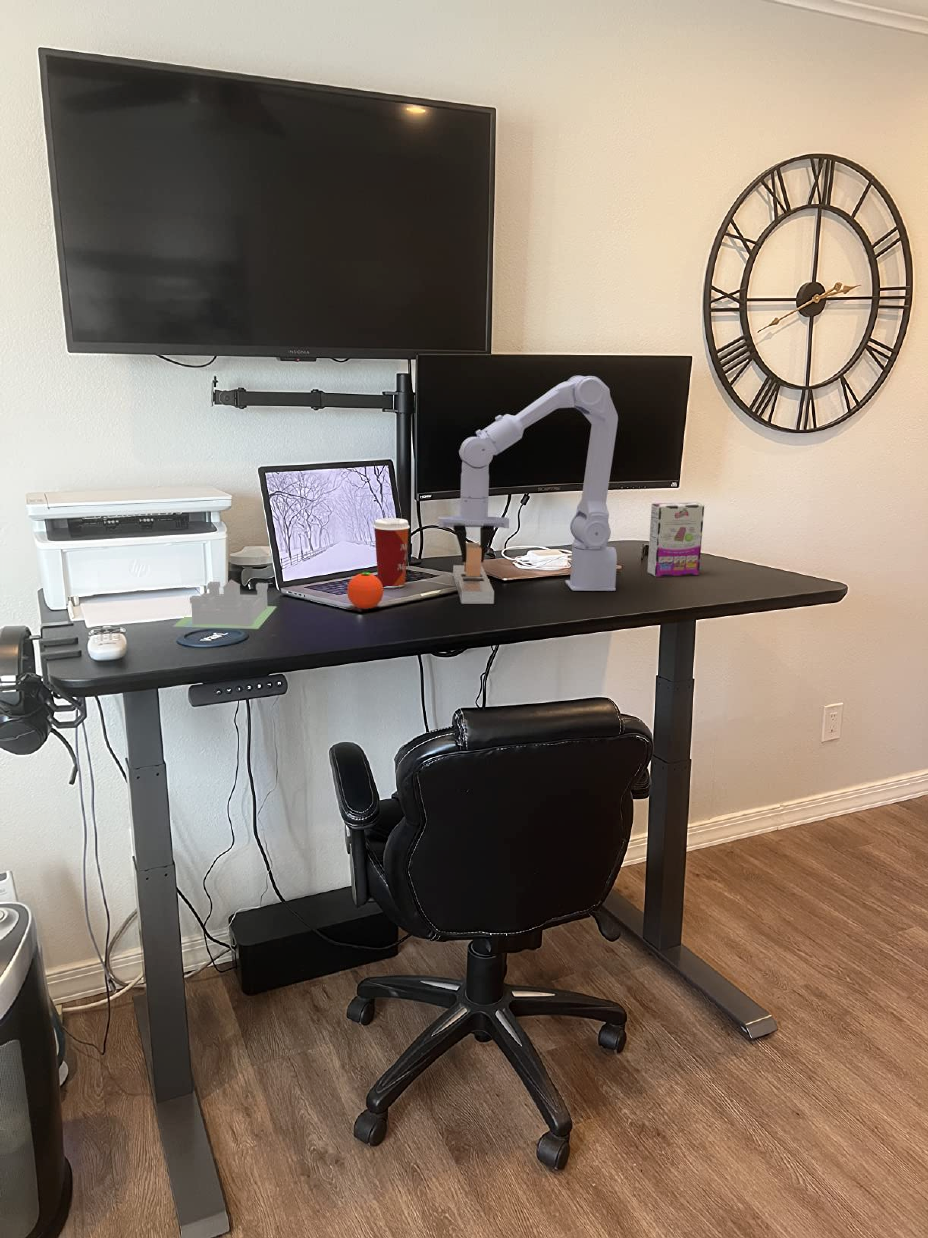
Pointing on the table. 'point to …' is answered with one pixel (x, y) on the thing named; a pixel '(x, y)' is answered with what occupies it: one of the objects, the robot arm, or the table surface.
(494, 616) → the table surface
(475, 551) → the orange block
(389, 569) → the paper cup
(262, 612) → the castle model
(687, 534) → the candy bar box
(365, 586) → the clementine
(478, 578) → the rail
